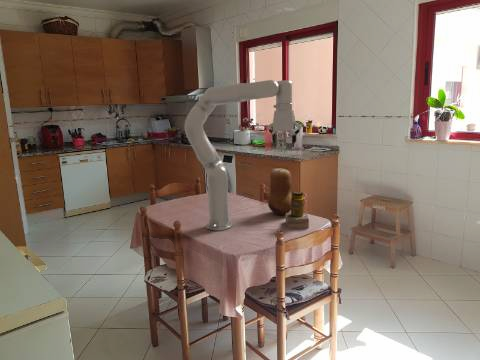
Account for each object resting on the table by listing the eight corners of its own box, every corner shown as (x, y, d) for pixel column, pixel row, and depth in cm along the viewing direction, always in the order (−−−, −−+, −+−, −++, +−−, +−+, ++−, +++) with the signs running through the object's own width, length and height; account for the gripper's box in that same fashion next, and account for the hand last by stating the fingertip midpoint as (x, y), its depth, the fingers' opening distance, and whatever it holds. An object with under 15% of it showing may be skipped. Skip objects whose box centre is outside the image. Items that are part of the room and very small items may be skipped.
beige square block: (308, 228, 183) (308, 218, 182) (287, 229, 183) (287, 219, 182) (305, 222, 193) (305, 212, 191) (285, 222, 193) (285, 213, 192)
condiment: (306, 215, 187) (307, 192, 184) (297, 219, 181) (297, 195, 178) (294, 212, 192) (294, 189, 189) (284, 216, 186) (284, 193, 183)
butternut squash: (296, 211, 209) (296, 167, 203) (288, 219, 197) (288, 171, 191) (273, 209, 215) (272, 165, 209) (263, 215, 203) (263, 170, 198)
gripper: (264, 107, 180) (264, 143, 184) (299, 107, 173) (299, 144, 177) (270, 107, 187) (270, 141, 191) (304, 106, 180) (303, 142, 183)
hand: (284, 143), depth 184 cm, fingers open, 9 cm apart
